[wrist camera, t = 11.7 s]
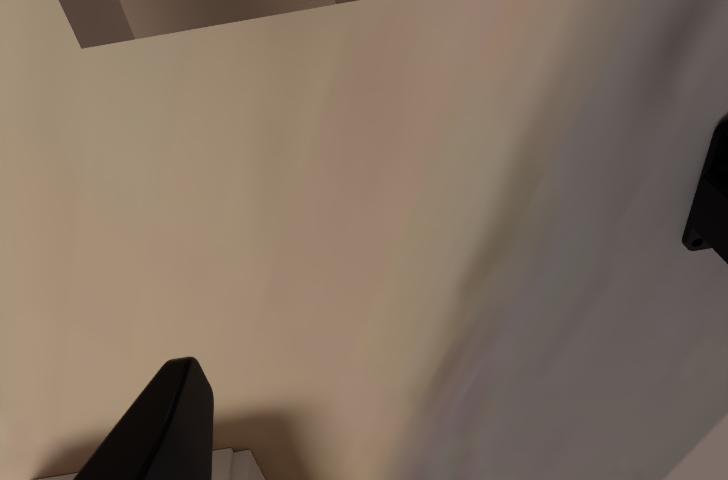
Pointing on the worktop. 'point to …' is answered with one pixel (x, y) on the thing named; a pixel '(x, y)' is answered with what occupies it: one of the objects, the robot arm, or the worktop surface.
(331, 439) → the worktop surface
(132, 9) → the socket block
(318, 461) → the worktop surface
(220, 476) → the part corral
